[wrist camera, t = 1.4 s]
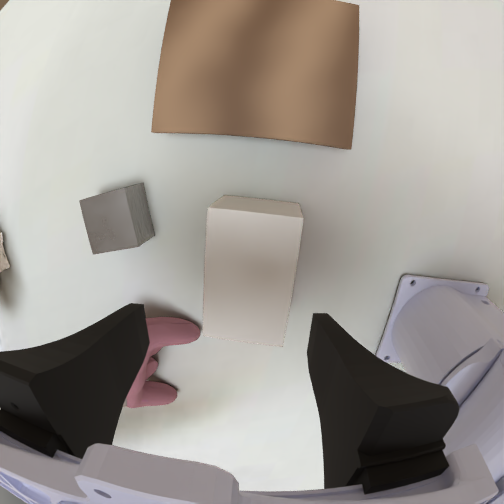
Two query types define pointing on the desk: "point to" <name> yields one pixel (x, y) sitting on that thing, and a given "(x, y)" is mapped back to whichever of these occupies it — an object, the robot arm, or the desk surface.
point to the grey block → (117, 219)
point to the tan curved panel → (260, 70)
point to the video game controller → (160, 335)
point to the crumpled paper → (0, 261)
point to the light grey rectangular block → (250, 268)
